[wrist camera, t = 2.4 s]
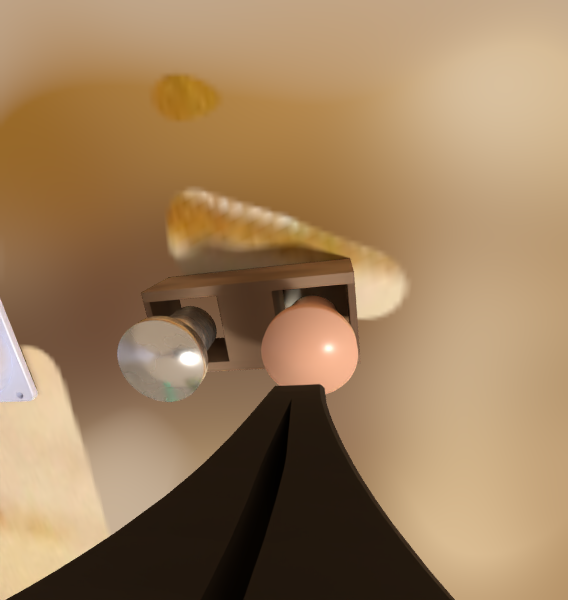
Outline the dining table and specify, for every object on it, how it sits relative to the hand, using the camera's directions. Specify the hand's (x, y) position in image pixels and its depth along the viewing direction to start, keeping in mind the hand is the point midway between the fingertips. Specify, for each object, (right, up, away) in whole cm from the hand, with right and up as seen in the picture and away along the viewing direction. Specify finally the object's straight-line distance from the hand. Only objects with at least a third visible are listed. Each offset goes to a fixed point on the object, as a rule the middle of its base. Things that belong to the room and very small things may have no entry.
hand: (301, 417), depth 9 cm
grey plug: (-5, +2, +8) cm, 9 cm away
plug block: (-2, +3, +10) cm, 10 cm away
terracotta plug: (+1, +2, +7) cm, 7 cm away
